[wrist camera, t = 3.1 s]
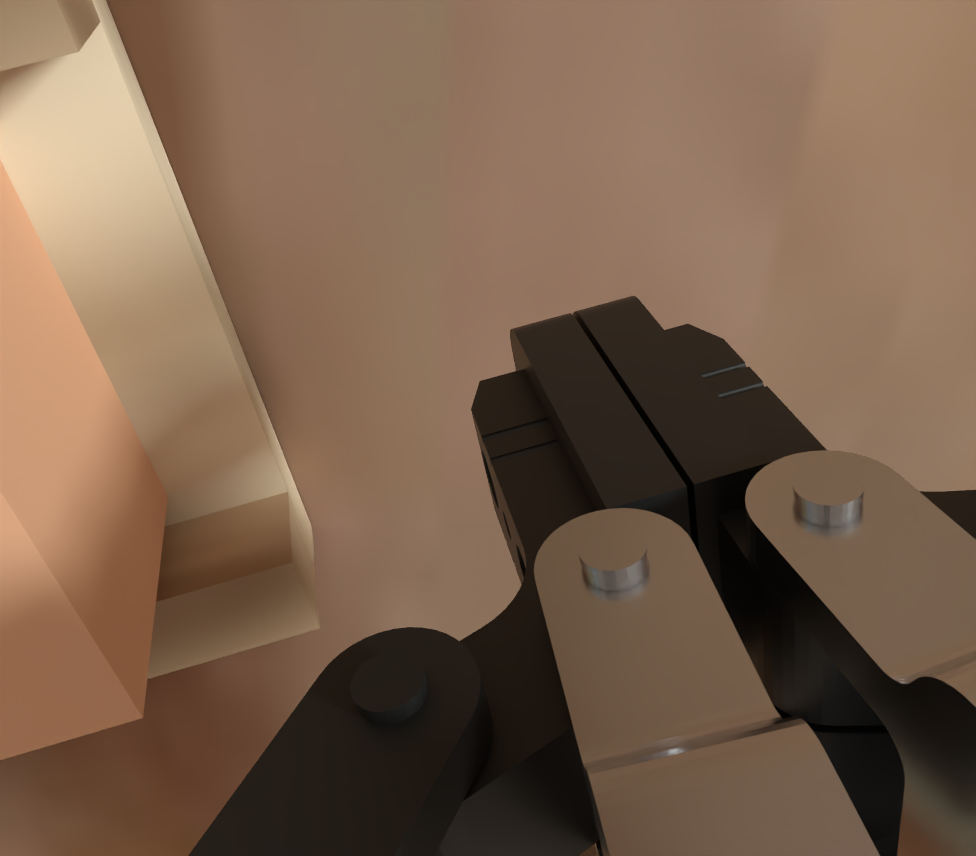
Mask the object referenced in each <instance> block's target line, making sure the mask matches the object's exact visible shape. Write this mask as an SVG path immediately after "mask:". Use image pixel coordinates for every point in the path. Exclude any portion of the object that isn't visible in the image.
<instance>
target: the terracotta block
mask: <svg viewBox="0 0 976 856" xmlns="http://www.w3.org/2000/svg"><path fill="white" fill-rule="evenodd" d="M167 501H168V496H167V494H166V492H165V490H164V488H163V486H162V484H161V482H160V480H159V478H158V476H157V474H156V472H155V470H154V468H153V466H152V464H151V462H150V460H149V458H148V456H147V454H146V452H145V450H144V448H143V446H142V444H141V442H140V440H139V438H138V436H137V434H136V432H135V430H134V427H133V425H132V423H131V421H130V419H129V417H128V415H127V413H126V411H125V409H124V407H123V405H122V403H121V401H120V399H119V397H118V395H117V393H116V391H115V389H114V387H113V385H112V383H111V381H110V379H109V377H108V375H107V373H106V371H105V369H104V367H103V365H102V363H101V361H100V359H99V357H98V355H97V353H96V351H95V349H94V347H93V345H92V343H91V341H90V339H89V337H88V335H87V333H86V331H85V329H84V327H83V325H82V323H81V321H80V319H79V317H78V315H77V313H76V311H75V309H74V307H73V305H72V303H71V301H70V299H69V297H68V295H67V293H66V291H65V289H64V287H63V284H62V282H61V280H60V278H59V276H58V274H57V272H56V270H55V268H54V266H53V264H52V262H51V260H50V258H49V256H48V254H47V252H46V250H45V248H44V246H43V244H42V242H41V240H40V238H39V236H38V234H37V232H36V230H35V228H34V226H33V224H32V222H31V220H30V218H29V216H28V214H27V212H26V210H25V208H24V206H23V204H22V202H21V200H20V198H19V196H18V194H17V192H16V190H15V188H14V186H13V184H12V182H11V180H10V178H9V176H8V174H7V172H6V170H5V168H4V166H3V164H2V162H1V160H0V760H3V759H6V758H10V757H13V756H16V755H20V754H23V753H26V752H30V751H33V750H36V749H40V748H43V747H47V746H50V745H53V744H57V743H60V742H63V741H67V740H70V739H73V738H77V737H80V736H83V735H87V734H90V733H94V732H97V731H100V730H104V729H107V728H110V727H114V726H117V725H120V724H124V723H127V722H130V721H134V720H137V719H141V718H143V711H144V703H145V694H146V685H147V676H148V668H149V659H150V650H151V641H152V632H153V624H154V615H155V606H156V597H157V589H158V580H159V571H160V562H161V553H162V545H163V536H164V527H165V518H166V510H167Z"/></svg>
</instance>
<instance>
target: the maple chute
mask: <svg viewBox="0 0 976 856" xmlns="http://www.w3.org/2000/svg"><path fill="white" fill-rule="evenodd" d="M0 160H1V162H2V164H3V166H4V168H5V170H6V172H7V174H8V176H9V178H10V180H11V182H12V184H13V186H14V188H15V190H16V192H17V194H18V196H19V198H20V200H21V202H22V204H23V206H24V208H25V210H26V212H27V214H28V216H29V218H30V220H31V222H32V224H33V226H34V228H35V230H36V232H37V234H38V236H39V238H40V240H41V242H42V244H43V246H44V248H45V250H46V252H47V254H48V256H49V258H50V260H51V262H52V264H53V266H54V268H55V270H56V272H57V274H58V276H59V278H60V280H61V282H62V284H63V287H64V289H65V291H66V293H67V295H68V297H69V299H70V301H71V303H72V305H73V307H74V309H75V311H76V313H77V315H78V317H79V319H80V321H81V323H82V325H83V327H84V329H85V331H86V333H87V335H88V337H89V339H90V341H91V343H92V345H93V347H94V349H95V351H96V353H97V355H98V357H99V359H100V361H101V363H102V365H103V367H104V369H105V371H106V373H107V375H108V377H109V379H110V381H111V383H112V385H113V387H114V389H115V391H116V393H117V395H118V397H119V399H120V401H121V403H122V405H123V407H124V409H125V411H126V413H127V415H128V417H129V419H130V421H131V423H132V425H133V427H134V430H135V432H136V434H137V436H138V438H139V440H140V442H141V444H142V446H143V448H144V450H145V452H146V454H147V456H148V458H149V460H150V462H151V464H152V466H153V468H154V470H155V472H156V474H157V476H158V478H159V480H160V482H161V484H162V486H163V488H164V490H165V492H166V494H167V496H168V501H167V510H166V518H165V527H164V536H163V545H162V553H161V562H160V571H159V580H158V589H157V597H156V606H155V615H154V624H153V632H152V641H151V650H150V659H149V668H148V676H147V679H150V678H153V677H156V676H160V675H163V674H167V673H170V672H173V671H177V670H180V669H184V668H187V667H190V666H194V665H197V664H201V663H204V662H207V661H211V660H214V659H218V658H221V657H224V656H228V655H231V654H234V653H238V652H241V651H245V650H248V649H251V648H255V647H258V646H262V645H265V644H268V643H272V642H275V641H279V640H282V639H285V638H289V637H292V636H296V635H299V634H302V633H306V632H309V631H312V630H316V629H319V628H320V623H319V613H318V602H317V591H316V580H315V570H314V559H315V557H314V547H313V536H312V526H311V524H310V521H309V519H308V516H307V514H306V511H305V509H304V506H303V503H302V501H301V498H300V496H299V493H298V491H297V488H296V486H295V483H294V480H293V478H292V475H291V473H290V470H289V468H288V465H287V463H286V460H285V457H284V455H283V452H282V450H281V447H280V445H279V442H278V439H277V437H276V434H275V432H274V429H273V427H272V424H271V422H270V419H269V416H268V414H267V411H266V409H265V406H264V404H263V401H262V399H261V396H260V393H259V391H258V388H257V386H256V383H255V381H254V378H253V376H252V373H251V370H250V368H249V365H248V363H247V360H246V358H245V355H244V352H243V350H242V347H241V345H240V342H239V340H238V337H237V335H236V332H235V329H234V327H233V324H232V322H231V319H230V317H229V314H228V312H227V309H226V306H225V304H224V301H223V299H222V296H221V294H220V291H219V288H218V286H217V283H216V281H215V278H214V276H213V273H212V271H211V268H210V265H209V263H208V260H207V258H206V255H205V253H204V250H203V248H202V245H201V242H200V240H199V237H198V235H197V232H196V230H195V227H194V225H193V222H192V219H191V217H190V214H189V212H188V209H187V207H186V204H185V201H184V199H183V196H182V194H181V191H180V189H179V186H178V184H177V181H176V178H175V176H174V173H173V171H172V168H171V166H170V163H169V161H168V158H167V155H166V153H165V150H164V148H163V145H162V143H161V140H160V138H159V135H158V132H157V130H156V127H155V125H154V122H153V120H152V117H151V114H150V112H149V109H148V107H147V104H146V102H145V99H144V97H143V94H142V91H141V89H140V86H139V84H138V81H137V79H136V76H135V74H134V71H133V68H132V66H131V63H130V61H129V58H128V56H127V53H126V51H125V48H124V45H123V43H122V40H121V38H120V35H119V33H118V30H117V27H116V25H115V22H114V20H113V17H112V15H111V12H110V10H109V7H108V4H107V2H106V0H0Z"/></svg>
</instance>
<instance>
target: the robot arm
mask: <svg viewBox="0 0 976 856" xmlns="http://www.w3.org/2000/svg"><path fill="white" fill-rule="evenodd" d="M510 339H511V346H512V352H513V357H514V362H515V367H516V371H515V372H511V373H508V374H504V375H501V376H497V377H493V378H490V379H486V380H482V381H480V382H479V386H478V389H477V392H476V395H475V398H474V402H473V405H472V408H471V411H472V415H473V419H474V423H475V428H476V432H477V436H478V440H479V445H480V449H481V453H482V457H483V461H484V466H485V470H486V474H487V478H488V483H489V487H490V491H491V495H492V499H493V504H494V508H495V511H496V514H497V517H498V520H499V523H500V525H501V528H502V531H503V534H504V537H505V539H506V541H507V545H508V548H509V551H510V553H511V556H512V559H513V562H514V563H515V567H516V570H517V573H518V576H519V579H520V581H521V584H522V585H521V588H520V590H519V591H518V593H517V595H516V596H515V598H514V599H513V601H512V602H511V603H510V604H509V605H508V607H507V608H506V609H505V610H504V611H503V612H502V613H501V614H499V615H498V616H497V617H496V618H495V619H494V620H492V621H491V622H489V623H488V624H486V625H485V626H484V627H482V628H481V629H479V630H477V631H476V632H474V633H472V634H471V635H469V636H467V637H466V638H464V639H462V640H461V641H458V640H457V639H455V638H453V637H451V636H450V635H448V634H446V633H443V632H440V631H437V630H433V629H427V628H414V627H407V628H398V629H392V630H388V631H384V632H380V633H377V634H375V635H372V636H369V637H367V638H365V639H363V640H361V641H359V642H357V643H355V644H353V645H352V646H350V647H349V648H347V649H346V650H345V651H343V652H342V653H340V654H339V655H338V656H337V657H336V658H335V659H334V660H333V661H332V662H330V663H329V665H328V666H327V667H326V668H325V669H324V670H323V672H322V673H321V674H320V675H319V677H318V678H317V679H316V681H315V682H314V684H313V685H312V686H311V688H310V689H309V690H308V692H307V693H306V695H305V696H304V697H303V699H302V700H301V701H300V703H299V704H298V706H297V707H296V708H295V710H294V711H293V712H292V714H291V715H290V717H289V718H288V719H287V721H286V722H285V723H284V725H283V726H282V728H281V729H280V730H279V732H278V733H277V735H276V736H275V737H274V739H273V740H272V741H271V743H270V744H269V746H268V747H267V748H266V750H265V751H264V752H263V754H262V755H261V757H260V758H259V759H258V761H257V762H256V763H255V765H254V766H253V768H252V769H251V770H250V772H249V773H248V774H247V776H246V777H245V779H244V780H243V781H242V783H241V784H240V785H239V787H238V788H237V790H236V791H235V792H234V794H233V795H232V796H231V798H230V799H229V801H228V802H227V803H226V805H225V806H224V807H223V809H222V810H221V812H220V813H219V814H218V816H217V817H216V818H215V820H214V821H213V823H212V824H211V825H210V827H209V828H208V829H207V831H206V832H205V834H204V835H203V836H202V838H201V839H200V840H199V842H198V843H197V845H196V846H195V847H194V849H193V850H192V851H191V853H190V854H189V856H578V855H580V854H581V853H582V852H584V851H585V850H586V849H588V848H589V847H591V846H592V845H593V844H595V847H596V851H597V855H598V856H976V490H965V491H946V492H922V491H918V490H917V489H916V488H914V487H913V486H912V485H911V484H910V483H909V482H907V481H906V480H905V479H904V478H903V477H902V476H900V475H899V474H898V473H897V472H895V471H894V470H892V469H891V468H890V467H888V466H886V465H884V464H882V463H880V462H878V461H876V460H873V459H871V458H868V457H865V456H862V455H858V454H854V453H848V452H841V451H827V450H826V449H825V448H824V447H823V446H822V445H821V443H820V442H819V441H818V440H817V439H816V438H815V437H814V436H813V435H812V434H811V433H810V432H809V431H808V429H807V428H806V427H805V426H804V425H803V424H802V423H801V422H800V421H799V420H798V419H797V418H796V417H795V415H794V414H793V413H792V412H791V411H790V410H789V409H788V408H787V407H786V406H785V405H784V404H783V403H782V401H781V400H780V399H779V398H778V397H777V396H776V395H775V394H774V393H773V392H772V391H771V390H770V389H769V388H768V386H766V387H764V385H763V381H762V380H761V379H760V378H759V377H758V376H757V375H756V374H755V372H754V371H753V370H752V369H751V368H750V367H746V365H745V362H744V361H743V360H742V358H741V357H740V356H739V355H738V354H737V353H736V352H735V351H734V350H733V349H732V348H731V347H730V346H729V344H728V343H727V342H726V341H725V340H724V339H722V338H720V337H718V336H715V335H713V334H711V333H708V332H706V331H704V330H701V329H699V328H697V327H694V326H692V325H690V324H685V325H682V326H678V327H674V328H671V329H667V330H664V329H663V328H662V327H661V326H660V324H659V323H658V322H657V321H656V320H655V318H654V317H653V316H652V315H651V314H650V312H649V311H648V310H647V309H646V308H645V306H644V305H643V304H642V303H641V302H640V300H639V299H638V298H637V297H635V296H631V297H627V298H623V299H620V300H616V301H612V302H609V303H605V304H601V305H598V306H594V307H590V308H587V309H583V310H579V311H575V312H574V313H573V315H572V314H571V313H569V314H565V315H562V316H558V317H554V318H550V319H547V320H543V321H539V322H536V323H532V324H528V325H525V326H521V327H517V328H514V329H511V330H510Z"/></svg>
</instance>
